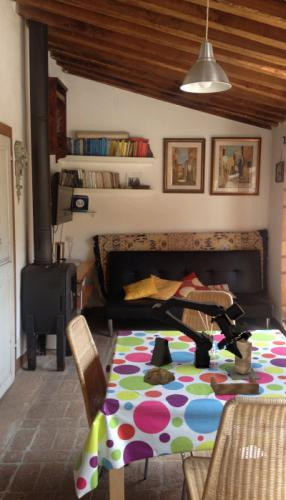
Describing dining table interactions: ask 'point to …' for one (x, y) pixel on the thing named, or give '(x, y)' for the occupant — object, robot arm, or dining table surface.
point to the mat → (241, 376)
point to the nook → (235, 387)
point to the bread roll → (159, 376)
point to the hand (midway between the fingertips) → (245, 357)
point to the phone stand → (161, 353)
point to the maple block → (245, 362)
